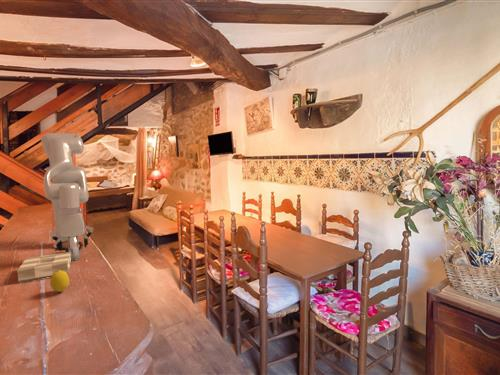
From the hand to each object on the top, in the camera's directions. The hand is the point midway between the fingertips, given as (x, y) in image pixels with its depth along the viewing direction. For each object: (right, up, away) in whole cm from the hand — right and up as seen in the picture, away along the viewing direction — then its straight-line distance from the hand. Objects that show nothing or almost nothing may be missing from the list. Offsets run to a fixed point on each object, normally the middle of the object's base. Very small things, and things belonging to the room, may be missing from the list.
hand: (73, 248), depth 137 cm
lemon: (+15, -9, -33) cm, 37 cm away
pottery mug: (-7, -5, +8) cm, 12 cm away
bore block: (-2, -7, -14) cm, 16 cm away
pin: (0, -5, +1) cm, 5 cm away
